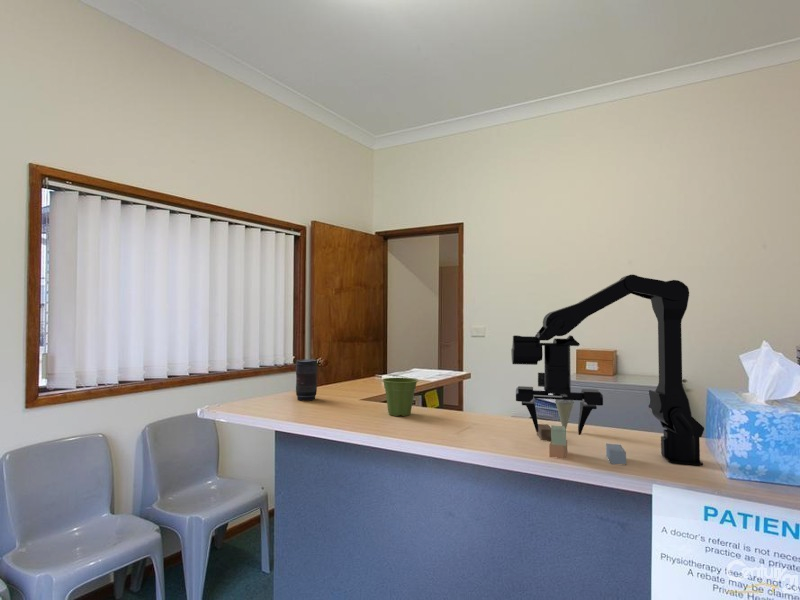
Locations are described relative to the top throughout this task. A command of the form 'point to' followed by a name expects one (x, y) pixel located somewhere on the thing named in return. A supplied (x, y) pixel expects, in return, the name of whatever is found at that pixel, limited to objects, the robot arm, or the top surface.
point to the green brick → (558, 435)
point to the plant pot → (399, 395)
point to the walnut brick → (544, 432)
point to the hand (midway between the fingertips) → (558, 433)
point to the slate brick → (615, 454)
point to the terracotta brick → (557, 450)
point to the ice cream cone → (564, 410)
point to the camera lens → (306, 379)
